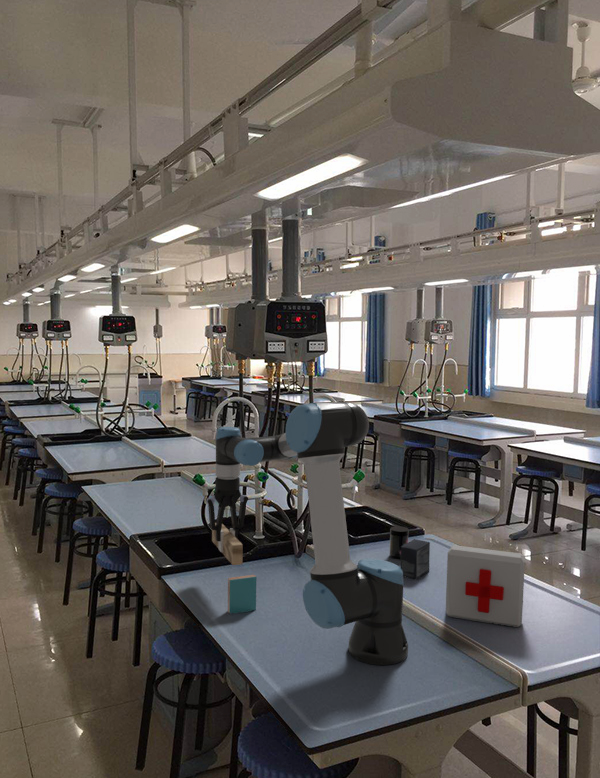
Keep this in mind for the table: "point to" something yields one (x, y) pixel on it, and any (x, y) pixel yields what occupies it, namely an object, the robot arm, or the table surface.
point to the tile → (242, 594)
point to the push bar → (230, 546)
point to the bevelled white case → (485, 585)
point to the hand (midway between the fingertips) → (226, 550)
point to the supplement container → (397, 540)
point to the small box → (415, 558)
